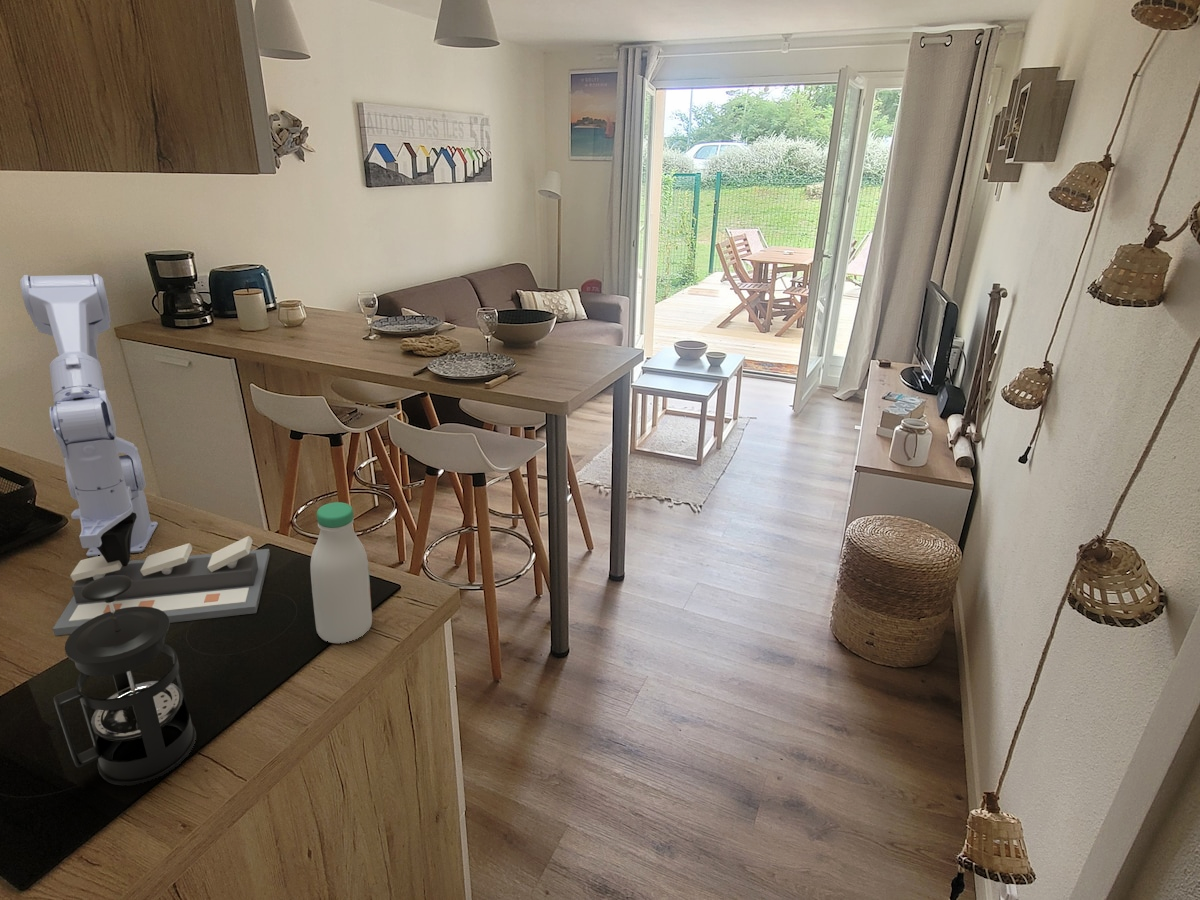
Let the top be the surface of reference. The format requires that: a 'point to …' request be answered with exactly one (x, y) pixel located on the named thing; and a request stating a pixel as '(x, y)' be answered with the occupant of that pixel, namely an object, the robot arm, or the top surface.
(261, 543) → the top surface
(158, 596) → the switch panel
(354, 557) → the milk bottle
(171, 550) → the switch middle
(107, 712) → the french press
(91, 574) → the switch near
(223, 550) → the switch far
